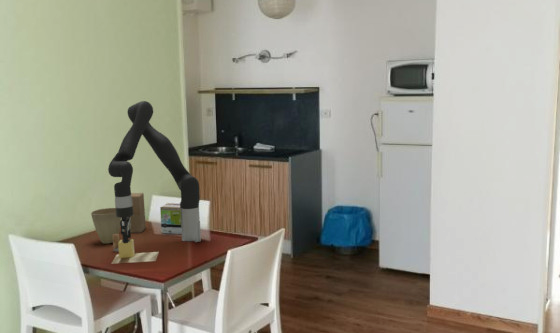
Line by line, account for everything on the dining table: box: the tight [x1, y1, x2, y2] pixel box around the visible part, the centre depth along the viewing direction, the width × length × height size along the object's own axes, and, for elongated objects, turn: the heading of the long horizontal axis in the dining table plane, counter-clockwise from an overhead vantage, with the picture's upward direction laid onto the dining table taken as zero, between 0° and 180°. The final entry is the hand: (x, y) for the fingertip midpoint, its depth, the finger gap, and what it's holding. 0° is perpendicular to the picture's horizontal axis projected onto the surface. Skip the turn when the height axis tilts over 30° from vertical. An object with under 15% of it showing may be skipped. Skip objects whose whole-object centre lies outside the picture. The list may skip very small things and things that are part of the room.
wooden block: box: [123, 192, 147, 234], centre depth 302 cm, size 10×10×20 cm
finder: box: [118, 238, 136, 258], centre depth 253 cm, size 6×5×7 cm
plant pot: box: [90, 207, 122, 244], centre depth 282 cm, size 15×15×16 cm
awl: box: [112, 234, 121, 253], centre depth 262 cm, size 3×3×9 cm
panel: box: [111, 251, 160, 265], centre depth 251 cm, size 19×14×1 cm
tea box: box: [159, 202, 182, 235], centre depth 298 cm, size 15×10×15 cm
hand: (127, 240), depth 252 cm, fingers open, 8 cm apart
